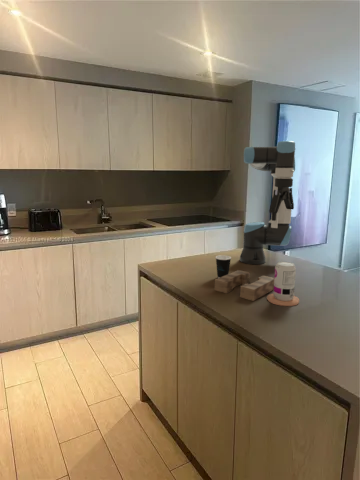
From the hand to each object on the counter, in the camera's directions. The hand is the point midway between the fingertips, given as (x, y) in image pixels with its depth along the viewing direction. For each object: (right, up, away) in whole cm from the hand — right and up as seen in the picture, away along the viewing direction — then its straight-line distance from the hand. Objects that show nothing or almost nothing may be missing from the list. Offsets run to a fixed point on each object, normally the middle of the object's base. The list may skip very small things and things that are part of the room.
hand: (280, 225), depth 156 cm
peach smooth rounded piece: (-2, -32, -10) cm, 34 cm away
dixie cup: (-24, -26, +19) cm, 40 cm away
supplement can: (-2, -31, -10) cm, 33 cm away
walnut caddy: (-16, -29, +3) cm, 33 cm away
